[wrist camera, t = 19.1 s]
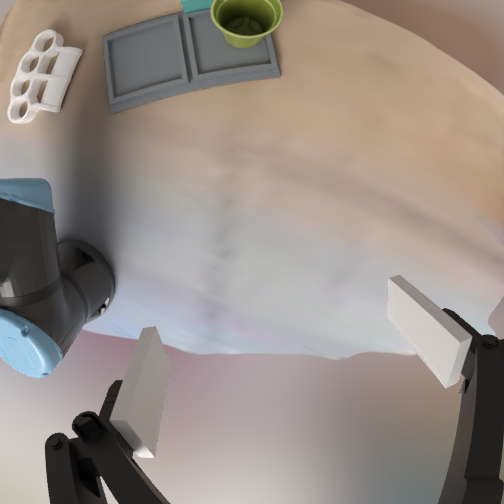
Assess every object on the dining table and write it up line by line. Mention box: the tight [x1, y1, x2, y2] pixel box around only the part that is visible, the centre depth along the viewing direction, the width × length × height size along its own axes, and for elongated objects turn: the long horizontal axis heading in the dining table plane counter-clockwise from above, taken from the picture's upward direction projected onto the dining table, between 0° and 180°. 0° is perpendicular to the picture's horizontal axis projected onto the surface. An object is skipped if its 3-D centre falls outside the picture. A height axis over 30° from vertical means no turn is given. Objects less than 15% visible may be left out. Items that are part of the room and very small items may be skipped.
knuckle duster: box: [7, 29, 83, 123], centre depth 33 cm, size 3×18×15 cm
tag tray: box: [103, 0, 280, 114], centre depth 34 cm, size 27×15×6 cm, turn 100°
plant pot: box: [211, 0, 283, 48], centre depth 32 cm, size 9×9×9 cm
